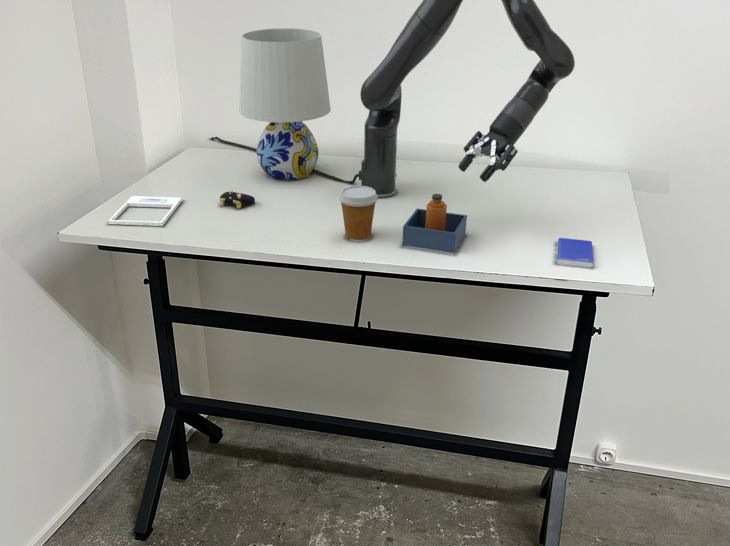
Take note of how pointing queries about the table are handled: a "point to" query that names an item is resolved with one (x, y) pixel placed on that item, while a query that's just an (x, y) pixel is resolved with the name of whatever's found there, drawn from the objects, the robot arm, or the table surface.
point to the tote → (434, 232)
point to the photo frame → (147, 202)
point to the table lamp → (284, 96)
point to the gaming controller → (236, 199)
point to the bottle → (436, 213)
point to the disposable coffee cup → (358, 211)
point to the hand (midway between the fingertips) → (471, 174)
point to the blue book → (575, 252)
